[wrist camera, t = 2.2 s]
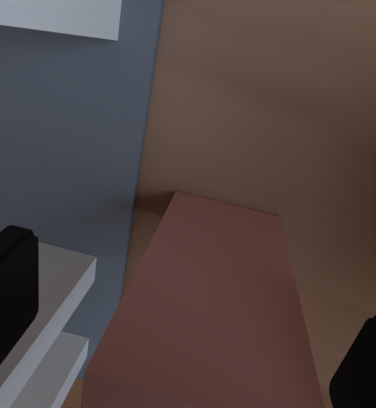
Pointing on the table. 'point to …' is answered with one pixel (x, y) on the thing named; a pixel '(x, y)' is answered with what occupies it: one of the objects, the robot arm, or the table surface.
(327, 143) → the table surface
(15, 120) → the domino mat
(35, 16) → the domino
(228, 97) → the table surface
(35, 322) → the domino
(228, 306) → the red domino
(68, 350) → the domino
